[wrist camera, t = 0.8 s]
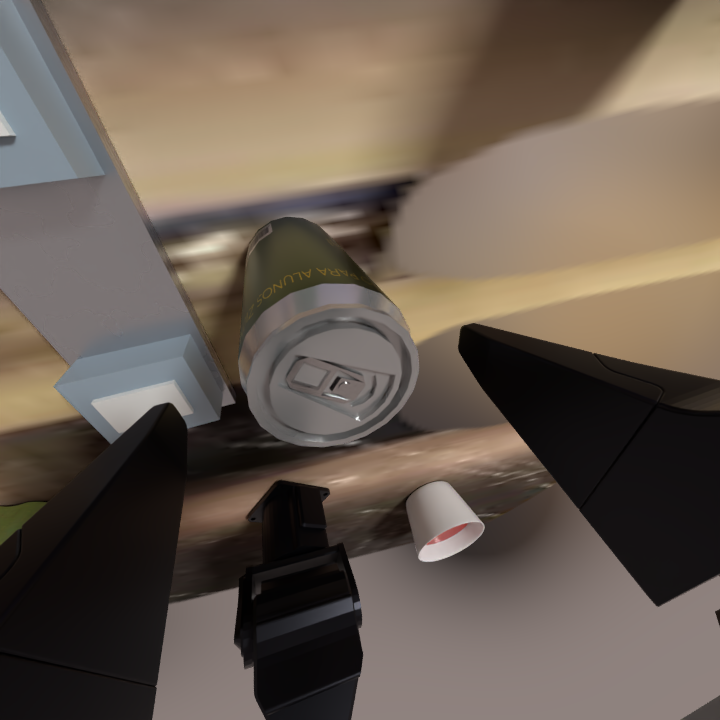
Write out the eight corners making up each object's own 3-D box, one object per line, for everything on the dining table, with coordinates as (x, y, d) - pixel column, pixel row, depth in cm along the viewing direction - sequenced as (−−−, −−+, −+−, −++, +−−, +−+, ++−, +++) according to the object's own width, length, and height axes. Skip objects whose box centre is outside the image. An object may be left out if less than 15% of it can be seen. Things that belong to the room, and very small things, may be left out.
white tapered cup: (386, 514, 40) (404, 565, 35) (420, 473, 36) (447, 523, 31) (433, 513, 44) (455, 558, 39) (468, 476, 41) (497, 520, 36)
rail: (236, 394, 21) (235, 403, 21) (134, 420, 20) (129, 431, 19) (19, -44, 9) (-3, -62, 9) (-263, -42, 8) (-317, -63, 7)
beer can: (231, 281, 17) (204, 435, 8) (270, 193, 15) (296, 253, 6) (311, 317, 20) (363, 461, 10) (352, 246, 18) (460, 345, 9)
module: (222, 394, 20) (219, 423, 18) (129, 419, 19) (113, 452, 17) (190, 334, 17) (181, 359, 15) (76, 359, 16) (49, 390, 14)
